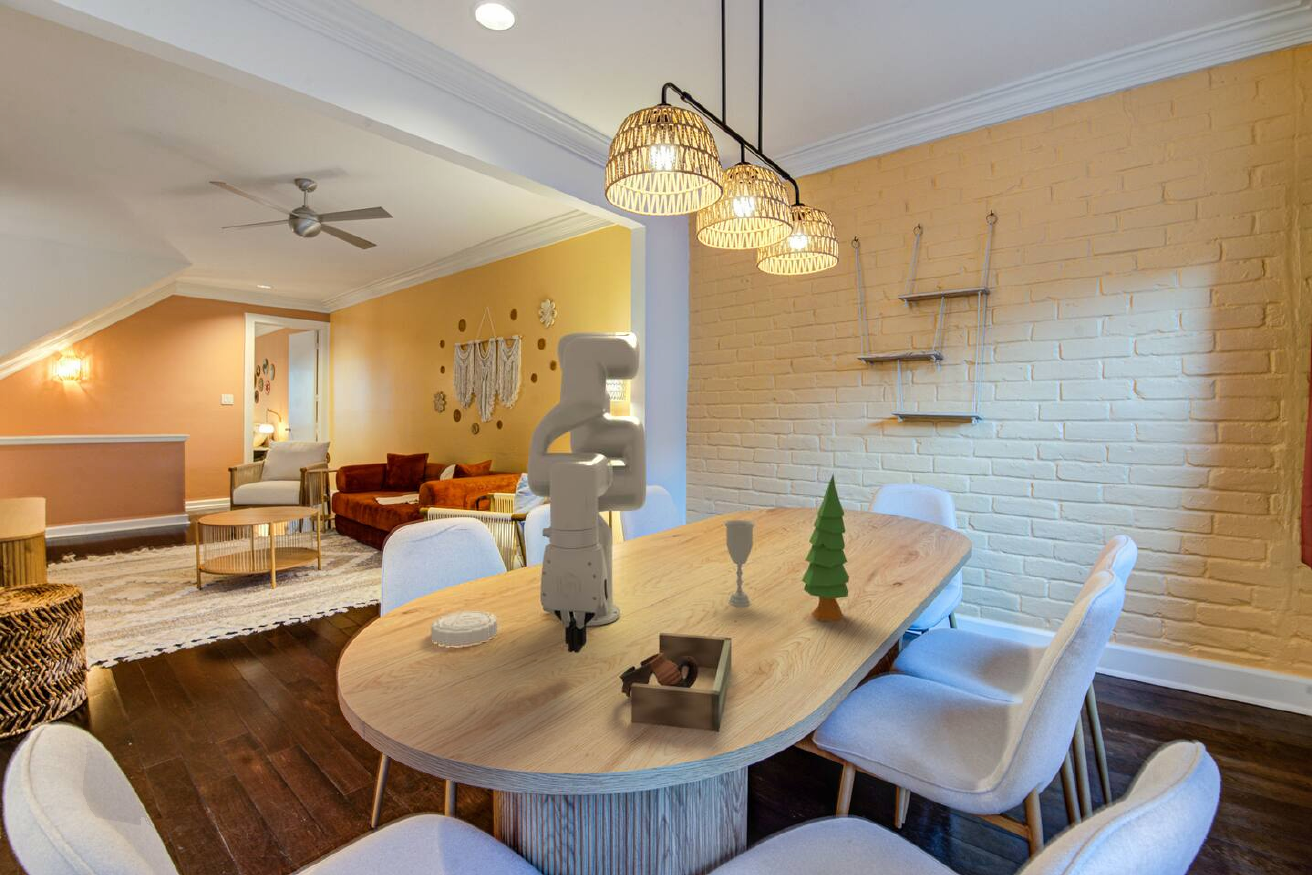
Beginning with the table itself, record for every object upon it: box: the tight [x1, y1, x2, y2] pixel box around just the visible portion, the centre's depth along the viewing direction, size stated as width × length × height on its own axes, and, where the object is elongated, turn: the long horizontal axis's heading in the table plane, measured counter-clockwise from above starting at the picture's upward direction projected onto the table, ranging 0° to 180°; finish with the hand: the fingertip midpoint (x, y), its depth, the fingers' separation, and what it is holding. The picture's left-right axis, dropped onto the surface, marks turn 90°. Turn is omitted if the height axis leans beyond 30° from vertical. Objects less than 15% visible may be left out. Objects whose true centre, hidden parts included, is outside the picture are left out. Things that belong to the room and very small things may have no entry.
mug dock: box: [630, 632, 732, 732], centre depth 88 cm, size 12×20×5 cm, turn 168°
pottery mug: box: [619, 652, 699, 698], centre depth 85 cm, size 12×10×8 cm
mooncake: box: [430, 610, 498, 646], centre depth 111 cm, size 12×12×4 cm
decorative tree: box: [801, 473, 850, 622], centre depth 121 cm, size 10×9×30 cm
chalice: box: [724, 519, 756, 608], centre depth 130 cm, size 7×7×18 cm
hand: (576, 648), depth 94 cm, fingers closed
